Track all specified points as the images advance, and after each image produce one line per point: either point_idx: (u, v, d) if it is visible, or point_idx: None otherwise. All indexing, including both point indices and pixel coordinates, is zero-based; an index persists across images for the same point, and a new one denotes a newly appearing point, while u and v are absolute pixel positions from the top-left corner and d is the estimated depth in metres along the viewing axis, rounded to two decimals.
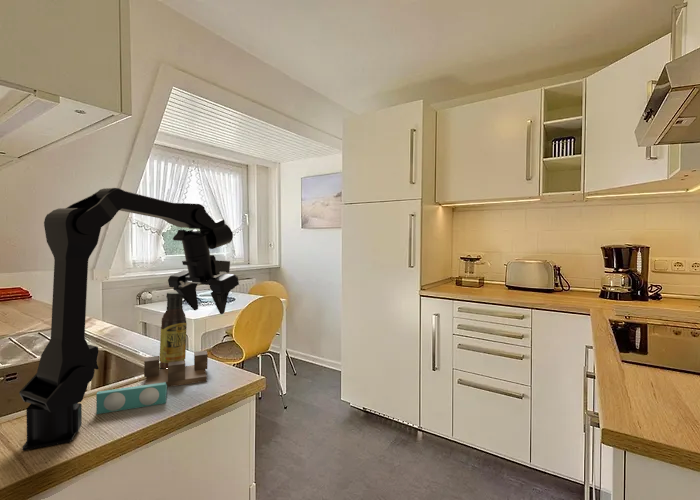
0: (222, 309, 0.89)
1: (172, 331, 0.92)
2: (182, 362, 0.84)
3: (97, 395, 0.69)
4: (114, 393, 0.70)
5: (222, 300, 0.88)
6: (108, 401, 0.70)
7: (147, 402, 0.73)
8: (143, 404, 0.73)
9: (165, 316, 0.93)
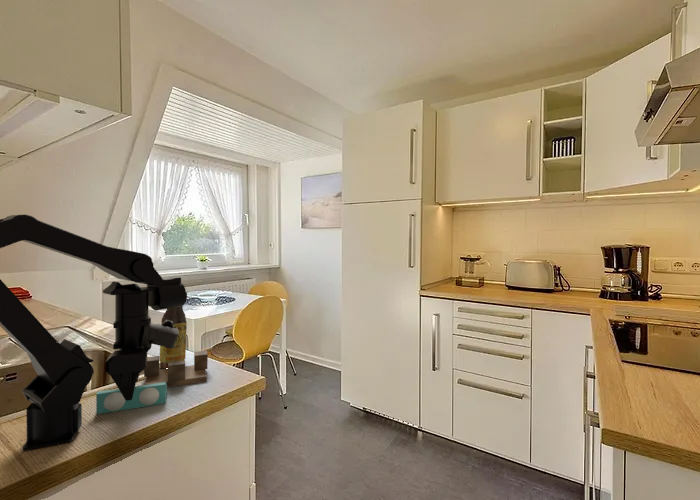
0: (126, 394, 0.67)
1: None
2: (182, 362, 0.84)
3: (97, 395, 0.69)
4: (114, 393, 0.70)
5: (126, 382, 0.67)
6: (108, 401, 0.70)
7: (147, 402, 0.73)
8: (143, 404, 0.73)
9: (165, 316, 0.93)
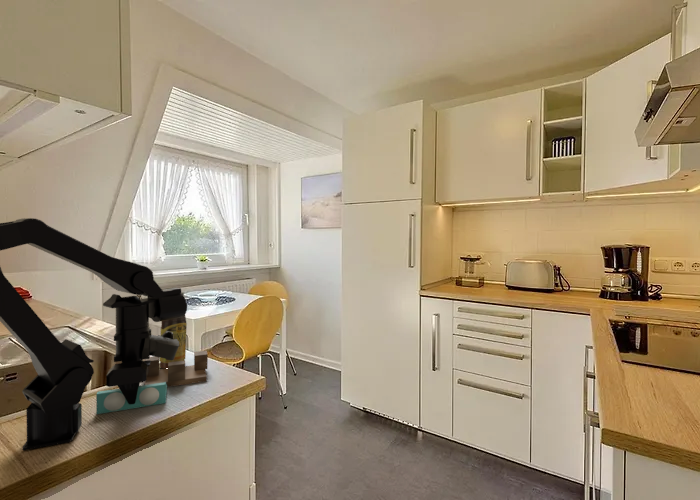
0: (130, 398, 0.71)
1: (172, 331, 0.92)
2: (182, 362, 0.84)
3: (97, 395, 0.69)
4: (114, 393, 0.70)
5: (129, 387, 0.70)
6: (108, 401, 0.70)
7: (147, 402, 0.73)
8: (143, 404, 0.73)
9: None
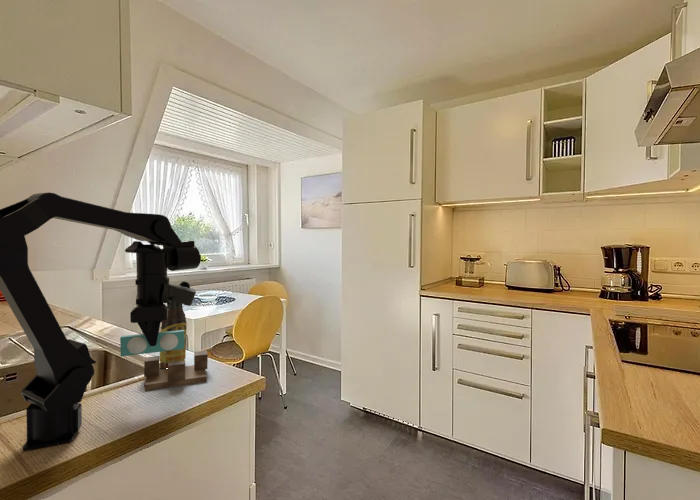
0: (151, 340, 0.75)
1: None
2: (182, 362, 0.84)
3: (121, 338, 0.73)
4: (137, 337, 0.75)
5: (150, 329, 0.75)
6: (131, 344, 0.74)
7: (167, 347, 0.77)
8: (164, 349, 0.77)
9: None
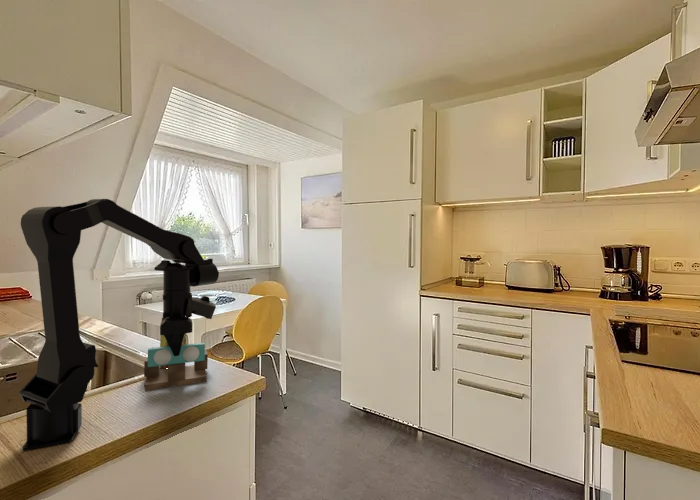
0: (175, 351, 0.82)
1: None
2: None
3: (148, 351, 0.80)
4: (162, 349, 0.82)
5: (175, 340, 0.81)
6: (157, 356, 0.81)
7: (189, 359, 0.84)
8: (186, 360, 0.84)
9: None
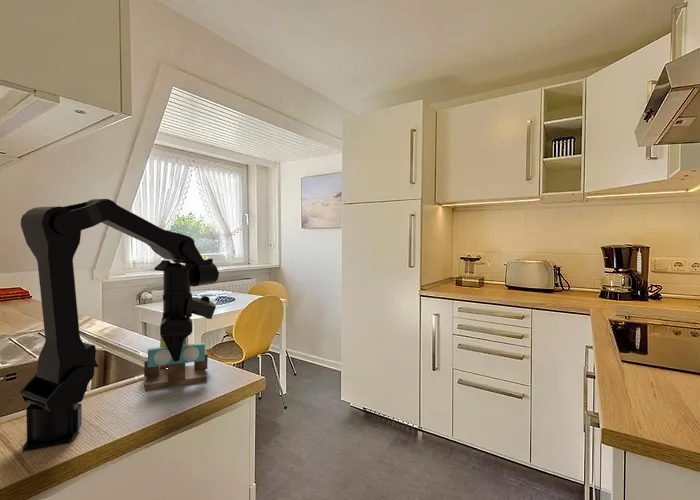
0: (175, 356, 0.79)
1: None
2: None
3: (148, 351, 0.80)
4: (162, 350, 0.82)
5: (175, 345, 0.78)
6: (157, 356, 0.81)
7: (189, 359, 0.84)
8: (186, 361, 0.84)
9: None
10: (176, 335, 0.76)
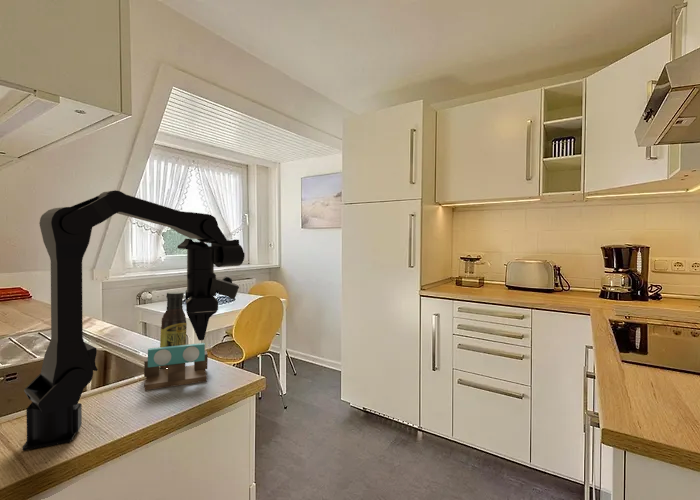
0: (199, 335, 0.78)
1: (172, 331, 0.92)
2: None
3: (148, 351, 0.80)
4: (162, 350, 0.82)
5: (200, 324, 0.77)
6: (157, 356, 0.81)
7: (189, 359, 0.84)
8: (186, 361, 0.84)
9: (165, 316, 0.93)
10: (202, 313, 0.75)
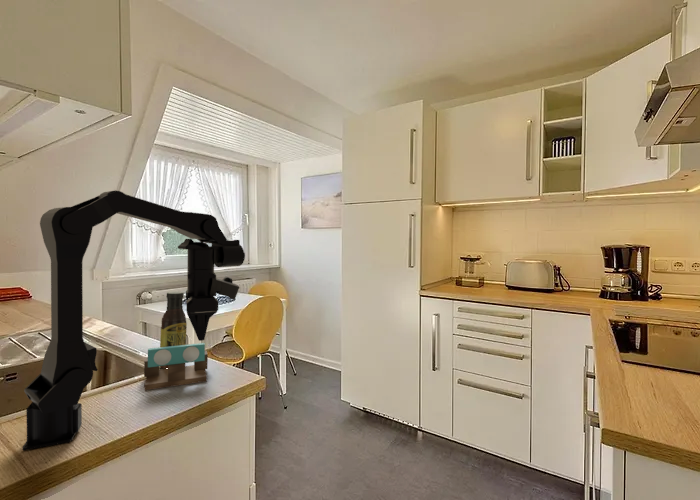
0: (200, 335, 0.78)
1: (172, 331, 0.92)
2: None
3: (148, 351, 0.80)
4: (162, 350, 0.82)
5: (200, 324, 0.77)
6: (157, 356, 0.81)
7: (189, 359, 0.84)
8: (186, 361, 0.84)
9: (165, 316, 0.93)
10: (202, 313, 0.75)
